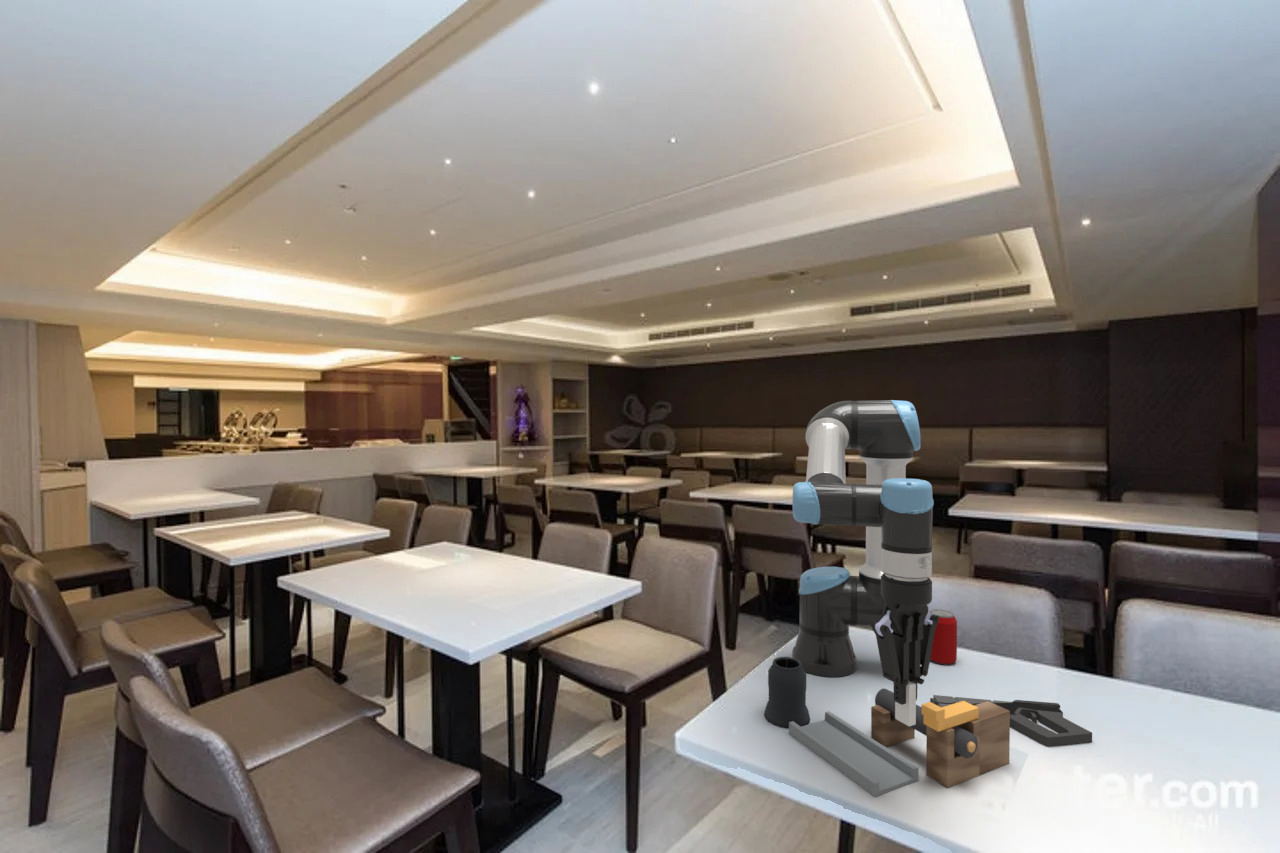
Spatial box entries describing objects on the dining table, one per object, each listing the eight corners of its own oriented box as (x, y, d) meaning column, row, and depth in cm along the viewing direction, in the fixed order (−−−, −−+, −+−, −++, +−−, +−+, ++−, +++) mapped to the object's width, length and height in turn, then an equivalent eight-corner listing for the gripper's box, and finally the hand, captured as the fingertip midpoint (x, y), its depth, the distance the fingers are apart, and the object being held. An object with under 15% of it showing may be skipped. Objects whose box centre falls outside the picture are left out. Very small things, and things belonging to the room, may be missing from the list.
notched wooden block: (926, 774, 100) (926, 720, 100) (987, 751, 107) (987, 701, 107) (947, 788, 97) (947, 732, 97) (1009, 763, 104) (1009, 710, 103)
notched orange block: (921, 724, 99) (921, 704, 99) (963, 710, 103) (963, 691, 103) (936, 732, 96) (936, 711, 96) (978, 718, 101) (978, 698, 101)
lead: (872, 710, 113) (872, 689, 113) (887, 705, 115) (888, 685, 115) (964, 762, 96) (964, 738, 96) (980, 756, 98) (980, 732, 98)
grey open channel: (788, 733, 114) (788, 722, 114) (828, 721, 118) (828, 711, 118) (874, 796, 95) (874, 783, 95) (918, 780, 99) (918, 767, 99)
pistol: (1103, 742, 107) (1062, 702, 122) (949, 727, 112) (927, 691, 127) (1102, 755, 107) (1061, 713, 122) (949, 739, 112) (927, 701, 127)
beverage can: (946, 654, 151) (946, 607, 151) (962, 665, 144) (963, 616, 144) (921, 655, 150) (921, 608, 150) (935, 666, 144) (936, 617, 143)
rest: (871, 739, 111) (871, 706, 111) (901, 730, 115) (901, 697, 115) (883, 747, 109) (884, 713, 108) (914, 737, 112) (914, 704, 112)
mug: (811, 731, 114) (812, 674, 114) (763, 726, 116) (764, 669, 116) (807, 702, 126) (808, 649, 126) (764, 697, 128) (764, 646, 128)
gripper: (896, 586, 89) (895, 742, 89) (954, 576, 94) (953, 723, 94) (858, 574, 95) (857, 719, 96) (914, 566, 101) (914, 703, 101)
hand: (905, 721), depth 95 cm, fingers closed
